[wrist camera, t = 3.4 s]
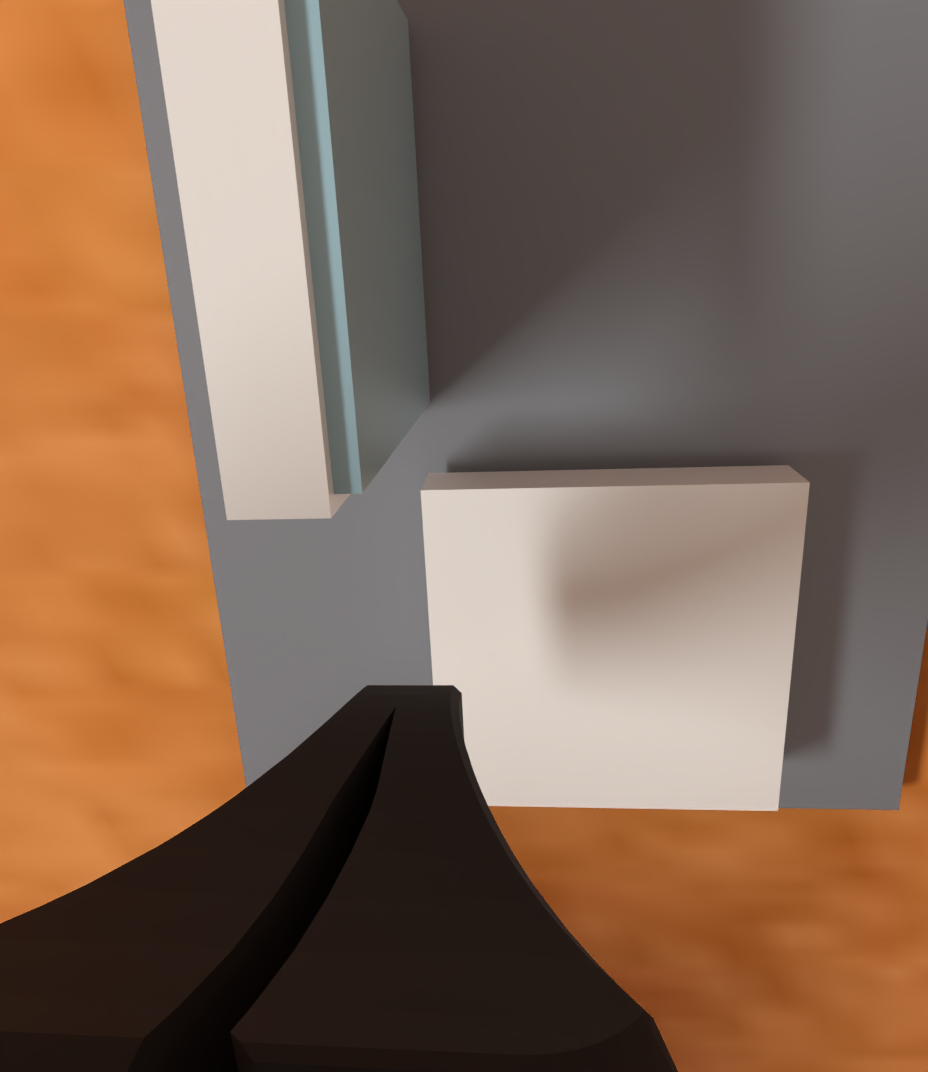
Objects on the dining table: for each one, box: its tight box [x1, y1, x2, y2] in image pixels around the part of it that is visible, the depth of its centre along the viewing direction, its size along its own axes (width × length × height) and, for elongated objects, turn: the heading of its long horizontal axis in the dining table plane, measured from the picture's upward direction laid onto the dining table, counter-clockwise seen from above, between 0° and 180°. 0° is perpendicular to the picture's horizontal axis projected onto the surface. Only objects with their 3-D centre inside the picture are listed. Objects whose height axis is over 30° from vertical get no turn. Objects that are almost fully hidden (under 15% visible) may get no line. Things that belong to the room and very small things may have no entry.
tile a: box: [421, 465, 810, 811], centre depth 14 cm, size 6×1×6 cm
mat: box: [124, 0, 928, 810], centre depth 14 cm, size 14×13×1 cm
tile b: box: [151, 0, 430, 520], centre depth 10 cm, size 6×1×6 cm, turn 3°
